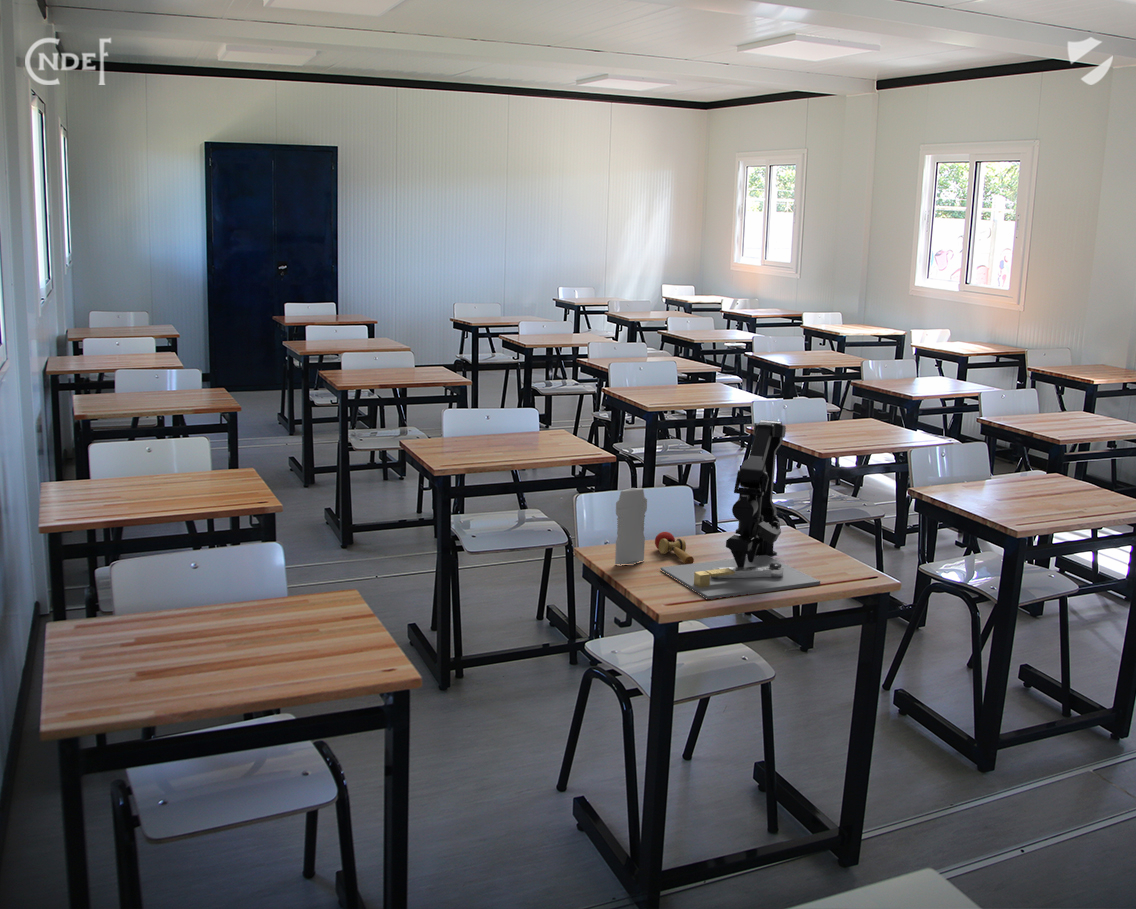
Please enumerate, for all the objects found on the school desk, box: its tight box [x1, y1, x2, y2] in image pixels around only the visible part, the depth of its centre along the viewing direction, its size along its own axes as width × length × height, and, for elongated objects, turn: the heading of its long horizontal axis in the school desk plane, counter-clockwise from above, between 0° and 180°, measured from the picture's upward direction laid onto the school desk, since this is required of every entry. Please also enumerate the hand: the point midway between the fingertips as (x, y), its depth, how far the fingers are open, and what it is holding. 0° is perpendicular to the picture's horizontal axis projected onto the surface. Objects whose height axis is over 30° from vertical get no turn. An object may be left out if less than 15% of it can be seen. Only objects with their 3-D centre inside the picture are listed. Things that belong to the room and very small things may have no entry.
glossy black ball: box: [769, 563, 782, 569], centre depth 257 cm, size 3×3×1 cm
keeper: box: [694, 568, 735, 587], centre depth 250 cm, size 3×10×3 cm, turn 113°
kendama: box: [654, 531, 695, 565], centre depth 276 cm, size 8×6×18 cm
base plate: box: [660, 555, 821, 600], centre depth 259 cm, size 25×35×1 cm
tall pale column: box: [614, 487, 648, 565], centre depth 267 cm, size 11×4×22 cm, turn 122°
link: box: [711, 566, 784, 579], centre depth 257 cm, size 20×4×2 cm, turn 98°
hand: (745, 566), depth 262 cm, fingers open, 8 cm apart
